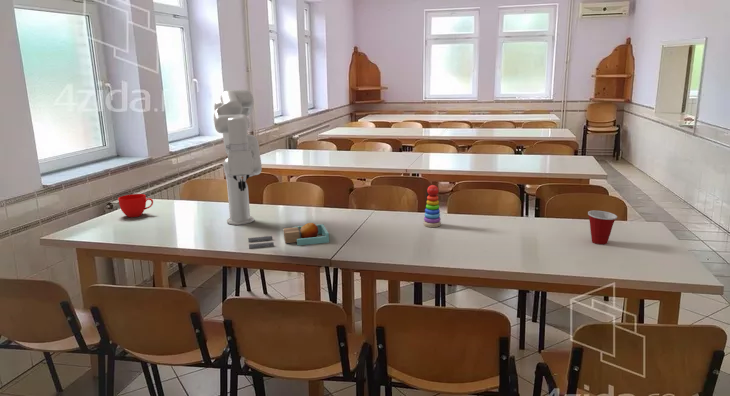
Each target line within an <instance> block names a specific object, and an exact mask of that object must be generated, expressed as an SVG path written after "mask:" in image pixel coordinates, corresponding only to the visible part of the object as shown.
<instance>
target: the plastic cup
mask: <svg viewBox="0 0 730 396" xmlns="http://www.w3.org/2000/svg"><path fill="white" fill-rule="evenodd" d="M587 215H588V217H589V228H590V229H589V230H590V236H591V243H593V244H596V245H607V244H608V242H609V239H610V235H611V232H612V229H613V225H614V223H615V222H616V220H617V218H618V215H616V214H615V213H613V212H609V211H604V210H603V211H602V210H589V211H587Z"/></svg>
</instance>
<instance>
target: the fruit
mask: <svg viewBox="0 0 730 396" xmlns="http://www.w3.org/2000/svg"><path fill="white" fill-rule="evenodd" d="M316 225H317V224H316V223H314V222H307V223H305V224H304V225H301V226H302V227H301V229H300V232H301V238H311V237H318V235H319V234H318V227H317V226H316Z"/></svg>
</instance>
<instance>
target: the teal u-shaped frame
mask: <svg viewBox="0 0 730 396" xmlns="http://www.w3.org/2000/svg"><path fill="white" fill-rule="evenodd" d="M315 225H316V226H317V227H318V234H317V235H321V236H317V237H311V238H302V237H301V239H297V242H296V245H297V246H305V245H307V246H308V245H315V244H326V243H327V244H328V243H330V237H329V235H330V233H329V231H328V230H327V228H326V227H325V225H324V223H319V224H318V223H317V224H315ZM302 226H303V225H300V226H299V225H298V226H293V227H292V228H294V227H298V228H299V229H301V227H302Z"/></svg>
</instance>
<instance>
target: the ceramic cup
mask: <svg viewBox="0 0 730 396" xmlns="http://www.w3.org/2000/svg"><path fill="white" fill-rule="evenodd" d="M148 201H150V202H151V204H150V205H149V206H147V207H146V205H147V202H148ZM118 204H119V209H120V210H121V212H122V213H123V214H124V215H125V216H127V217H128V218H139V217H141V216H142V214H143V213H144V212H145V210H147V209H149V208H151V207H152V206H153V205H154V199H152V198H151V197H150V198H149V197H147V195H146V194H145V193H143V194H142V193H132V194H125V195H122V196H118Z"/></svg>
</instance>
